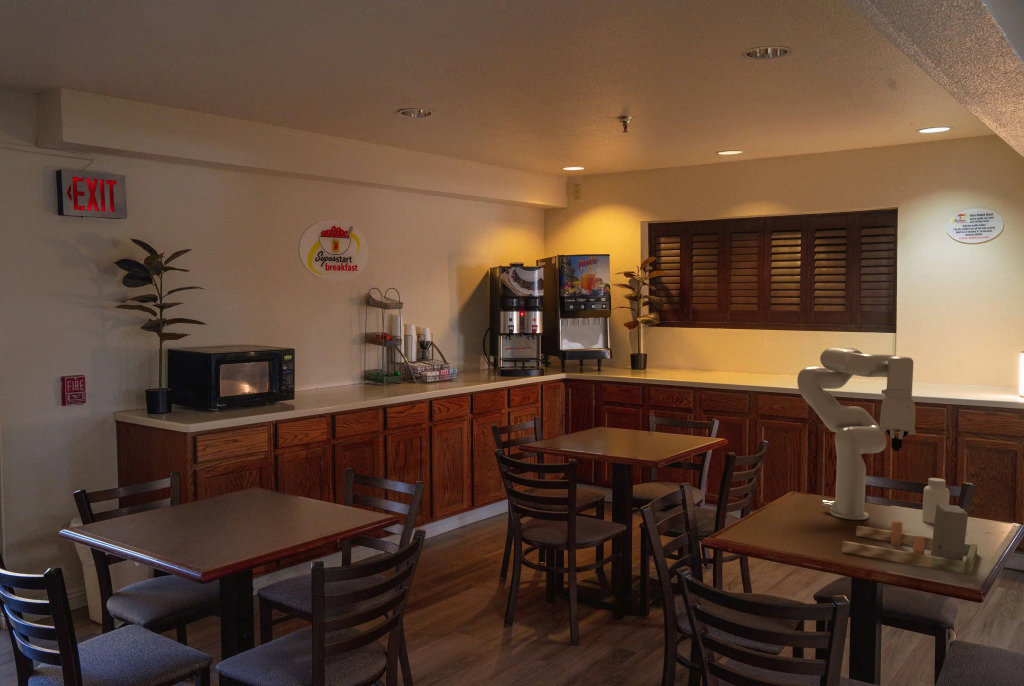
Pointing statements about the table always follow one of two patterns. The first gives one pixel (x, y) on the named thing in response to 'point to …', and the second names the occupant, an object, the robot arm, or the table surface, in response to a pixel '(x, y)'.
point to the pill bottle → (934, 498)
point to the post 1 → (896, 533)
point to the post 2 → (919, 545)
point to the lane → (909, 556)
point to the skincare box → (949, 532)
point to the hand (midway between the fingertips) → (896, 450)
